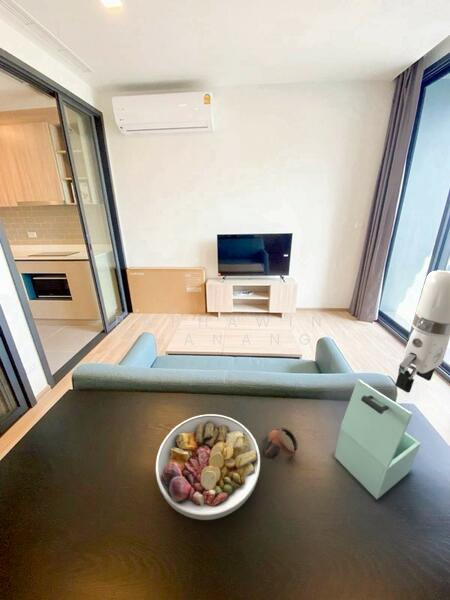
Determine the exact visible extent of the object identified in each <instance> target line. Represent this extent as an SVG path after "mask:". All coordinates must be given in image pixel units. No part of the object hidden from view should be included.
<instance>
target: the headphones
mask: <svg viewBox="0 0 450 600" xmlns="http://www.w3.org/2000/svg"><path fill="white" fill-rule="evenodd" d="M282 432H283V433H285V436H287V437H289V439H290V441H291V442H292V445H293V448H291V447H289V446H288V445H287V444H286V443H285V442H284V440H283V437H282ZM262 447H263V451H264V456H265V457H266V458H267V459H271V460H274V459H275V458H276V457H277V456H279V455H280V453H281V452H282V453H284V454H286V455H288V456H291V457H290V458H289V461H290V462H292V461H293V459H294V458H295V456H296V453H297V450H298V449H299V448H298V447H299V443H298V441H297V438H296V437H295V435H294V434H293V432H292V431H291V430H289V429H288V428H287V427H280V428H277V429H273V430H272V431H270V432H269V433H268V434H267V436H266V437H265V440H264V442H263V446H262Z"/></svg>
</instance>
